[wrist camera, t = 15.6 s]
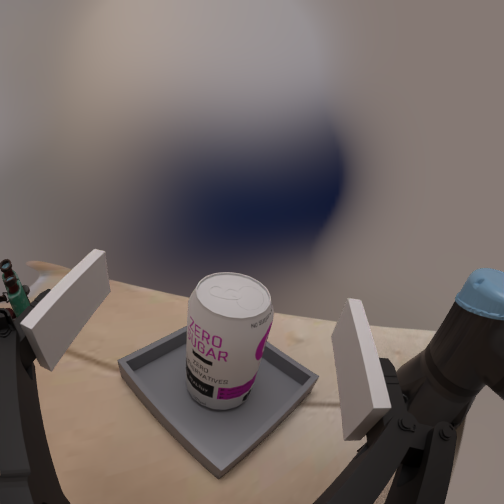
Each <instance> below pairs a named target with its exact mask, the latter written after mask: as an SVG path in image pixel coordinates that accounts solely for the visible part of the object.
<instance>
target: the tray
mask: <svg viewBox="0 0 504 504" xmlns="http://www.w3.org/2000/svg"><path fill="white" fill-rule="evenodd" d="M186 344H187V326H185V327H183V328H181V329H179V330H177V331H175V332H173V333H171V334H170V335H168V336H166V337H164V338H162V339H160V340H158V341H156V342H154V343H152V344H150V345H148V346H146V347H144V348H142V349H139V350H137V351H135V352H133V353H131V354H129V355H127V356H125V357H123V358H121V359H119V360H117V361H118V365H119V369H120V373H121V377H122V378H123V379H124V381H125V382H126V383H127V384H128V386H129V387H130V388H131V389H132V391H133V392H134V393H135V394H136V396H137V397H138V398H139V399H140V401H141V402H142V403H143V404H144V405H145V406H146V408H147V409H148V410H149V411H150V412H151V413H152V414H153V416H154V417H155V418H156V419H157V420H158V421H159V422H160V423H161V424H162V426H163V427H164V428H165V429H166V430H167V431H168V432H169V433H170V434H171V435H172V436H173V437H174V438H175V439H176V440H177V441H178V442H179V443H180V444H181V445H182V446H183V447H184V448H185V449H186V450H187V451H188V452H189V453H190V454H191V455H192V456H193V457H194V458H195V459H196V460H197V461H199V462H200V463H201V464H202V465H203V466H204V467H205V468H206V469H207V470H209V471H210V472H211V473H212V474H213V475H214V476H215V477H217V478H218V479H219V478H221V477H222V476H223V475H224V474H225V473H227V472H228V471H229V470H230V469H231V468H233V467H234V466H235V465H236V464H237V463H239V462H240V461H241V460H242V459H243V458H244V457H245V456H247V455H248V454H249V453H250V452H251V451H252V450H253V449H254V448H255V447H256V446H258V445H259V444H260V443H261V442H262V441H263V440H264V439H265V438H266V437H267V436H268V435H269V434H270V433H271V432H272V431H273V430H274V429H275V428H276V427H277V426H278V425H279V424H280V423H281V422H282V421H283V420H284V419H285V418H286V417H287V416H288V415H289V414H290V413H291V412H292V411H293V410H294V409H295V408H296V407H297V406H298V405H299V404H300V403H301V401H302V400H303V399H304V398H305V397H306V396H307V395H308V394H309V393H310V392H311V390H312V388H313V386H314V385H315V383H316V381H317V379H318V378H319V376H318V375H316V374H315V373H313V372H311V371H310V370H308V369H307V368H305V367H304V366H302V365H301V364H299V363H298V362H296V361H295V360H293V359H292V358H290V357H289V356H287V355H286V354H284V353H283V352H281V351H280V350H279V349H277V348H276V347H274V346H273V345H271V344H270V343H268V342H266V345H265V348H264V352H263V355H262V358H261V361H260V365H259V368H258V371H257V374H256V378H255V381H254V384H253V387H252V390H251V393H250V395H249V396H248V398H247V399H246V401H245V402H243V403H242V404H240V405H239V406H237V407H234V408H231V409H227V410H220V409H211V408H209V407H206V406H203V405H201V404H200V403H199V402H197V401H196V400H195V399H193V398H192V396H191V395H190V393H189V391H188V390H187V385H186Z"/></svg>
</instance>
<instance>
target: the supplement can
mask: <svg viewBox="0 0 504 504" xmlns="http://www.w3.org/2000/svg"><path fill="white" fill-rule="evenodd" d="M273 315H274V308H273V306H272V303H271V296H270V294H269V292H268V290H267V288H266V287H265V286H264V285H263V284H261V283H260V282H259V281H257V280H255V279H253V278H252V277H249V276H246V275H243V274H239V273H231V272H222V273H215V274H212V275H209V276H206V277H205V278H203V279H202V280H201V281H199V283H198V285H197V287H196V289H195V290H194V291H193V292H192V294H191V296H190V298H189V301H188V317H187V344H186V385H187V390H188V391H189V393H190V395H191V396H192V398H193V399H195V400H196V401H197V402H199V403H200V404H201V405H203V406H206V407H209V408H211V409H220V410H227V409H231V408H234V407H237V406H239V405H240V404H242V403H243V402H245V401H246V399H247V398H248V396H249V395H250V393H251V390H252V387H253V384H254V381H255V378H256V374H257V371H258V368H259V365H260V361H261V358H262V355H263V352H264V348H265V345H266V342H267V338H268V335H269V331H270V328H271V325H272V321H273Z"/></svg>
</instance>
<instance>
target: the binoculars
mask: <svg viewBox="0 0 504 504" xmlns="http://www.w3.org/2000/svg"><path fill="white" fill-rule="evenodd" d="M0 269H1V271H2V272H3V275H2V279H3V282H4V284H5V287H6V290H7V292H3V295H2V296H0V302H2V301H6V302H7V303H8V302H9V301H10V304H11V306H12V308H13V310H12V309H10V308H5V309H7V310H8V311H9V312H10V314H11V317H12V319H13V322H14V321H15V320H16V318H17V317H18V316H19V315H20V314H21V313H22V312H23V311H24V310H25V309H26V308H27V307H28V306H30V304H31V303H30V301H29V299H28V297H27V295H28V294H29V292H30V289H29V287H28V286H26V285H23V286H22V285H21V282H20V280H19V278H18V276H17V274H16V273H15V272H14V271H13V270H12V264H11V261H10V260H8V259H5V260H3V261H2V262H1V263H0ZM5 293H7V295H8V299H9V301H7V298H6V296H5V295H4V294H5Z"/></svg>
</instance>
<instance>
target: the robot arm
mask: <svg viewBox="0 0 504 504" xmlns="http://www.w3.org/2000/svg"><path fill="white" fill-rule="evenodd" d="M109 293H110V285H109V278H108V271H107V264H106V254H105V251H101V250H97V249H94V250H93V251H92V252H91V253H89V254H88V255H87V256H86V257H85V258H84V259H83V260H82V261H81V262H80V263H79V264H77V265H76V266H75V267H74V268H73V269H72V270H71V271H70V272H69V273H68V274H67V275H66V276H65V277H64V278H63V279H62V280H61V281H60V282H59V283H58V284H57V285H56V286H55V287H54V288H53V289H52V290H51V289H47V290H46V291H44V292H42V293H40V294H39V295H38V296H37V297H36V298H35V299H34V301H33V302H32V303H31V304H30V306H28V307H27V308H26V309H25V310H24V311H23V312H22V313H21V314H20V315H19V316H18V317H17V319H16V320H15V321H14V322H13V319H12V317H11V314H10V312H9V311H8V310H7V309H5V308H0V504H70V502H69V501H68V499H67V498H66V497H65V496H64V494H63V492H62V490H61V487H60V484H59V481H58V478H57V475H56V472H55V469H54V465H53V462H52V458H51V455H50V451H49V447H48V443H47V439H46V435H45V430H44V425H43V420H42V415H41V410H40V404H39V397H38V390H37V382H36V373H35V366H34V363H33V361H34V360H35V359H36V358H37V360H38V362H39V364H40V366H42V367H44V368H46V369H48V370H50V371H51V372H52V370H53V369H54V367H55V366H56V364H57V363H58V362H59V360H60V359H61V357H62V356H63V354H64V353H65V351H66V350H67V349H68V347H69V346H70V344H71V343H72V342H73V340H74V339H75V337H76V336H77V335H78V333H79V332H80V331H81V329H82V328H83V327H84V325H85V324H86V323H87V321H88V320H89V319H90V317H91V316H92V315H93V313H94V312H95V311H96V309H97V308H98V307H99V306H100V304H101V303H102V302H103V300H104V299H105V298H106V297H107V295H108V294H109ZM331 338H332V344H333V351H334V358H335V365H336V373H337V381H338V389H339V397H340V406H341V416H342V426H343V437H344V441H352V440H361V439H362V438H363V437H364V436H365V435H366V437H367V442H366V443H365V444H364V445H363V446H362V447H361V448H360V449H359V450H357V452H358V453H357V454H356V456H355V457H354V458H353V459H352V461H351V462H350V463H349V464H348V466H347V467H346V468H345V469H344V470H343V471H342V473H341V474H340V475H339V476H338V477H337V478H336V480H335V481H334V482H333V483H332V484H331V485H330V486H329V487H328V488H327V489H326V490H325V492H324V493H323V494H322V495H321V496H320V497H319V498H318V499H317V500H316V501H315V502H314V503H313V504H373V503H374V502H375V500H376V499H377V498H378V496H379V495H380V493H381V492H382V491H383V489H384V488H385V486H386V485H387V483H388V482H389V480H390V479H391V477H392V476H393V474H394V472H395V471H396V474H395V476H394V479H393V482H392V485H391V488H390V490H389V493H388V496H387V498H386V501H385V503H384V504H444V503H445V499H446V495H447V491H448V487H449V482H450V477H451V472H452V466H453V460H454V453H455V446H456V438H457V436H456V431H455V429H456V428H458V427H459V425H460V424H461V423H462V421H463V420H464V418H465V416H466V414H467V413H468V411H469V409H470V407H471V405H472V403H473V401H474V399H475V397H476V395H477V394H478V393H479V392H480V390H481V389H482V388H483V387H484V386H485V385H487V386H488V387H490V388H491V389H492V390H493V391H494V392H495V393H496V394H498V395H499V396H500V397H501V398H502V399H503V400H504V272H502V271H499V270H494V269H490V268H480V269H477V270H475V271H474V272H472V273H471V274H470V276H469V277H468V279H467V281H466V282H465V284H464V286H463V288H462V289H461V291H460V292H459V293H458V294H457V295H456V297H455V302H454V304H453V306H452V308H451V309H450V311H449V313H448V314H447V316H446V318H445V320H444V321H443V323H442V324H441V326H440V328H439V329H438V331H437V332H436V334H435V335H434V337H433V338H432V340H431V341H430V343H429V344H428V346H427V347H426V349H425V350H423V351H422V352H421V353H419V354H418V355H416V356H415V357H414V358H412V359H411V360H409V361H408V362H407V363H405V364H404V365H402V366H401V367H400V368H399V369H398V370H397V372H396V371H395V367H394V366H393V364H392V363H391V362H390V360H389V359H388V358H379V357H378V353H377V350H376V346H375V343H374V340H373V336H372V333H371V330H370V327H369V323H368V320H367V317H366V314H365V311H364V308H363V305H362V302H361V300H357V299H350V298H347V301H346V303H345V306H344V308H343V310H342V313H341V315H340V318H339V320H338V322H337V324H336V327H335V329H334V331H333V333H332V336H331ZM396 469H397V470H396Z"/></svg>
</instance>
